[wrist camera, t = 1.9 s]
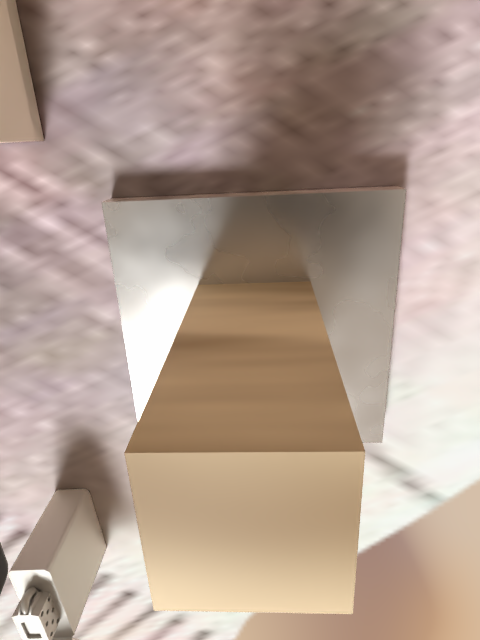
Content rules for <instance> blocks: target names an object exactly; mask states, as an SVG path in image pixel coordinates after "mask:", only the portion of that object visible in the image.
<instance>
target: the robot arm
mask: <svg viewBox="0 0 480 640" xmlns="http://www.w3.org/2000/svg"><path fill="white" fill-rule="evenodd" d="M7 574H8V563H7V560H6V557H5V554H4V552H3V549H2V546H1V543H0V594H1V591H2V589H3V586H4V583H5V581H6V578H7Z"/></svg>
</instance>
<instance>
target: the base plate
mask: <svg viewBox="0 0 480 640" xmlns="http://www.w3.org/2000/svg"><path fill="white" fill-rule="evenodd" d="M405 196H406V189H404V188H402V187H399V186H382V187H359V188H337V189H314V190H291V191H268V192H246V193H223V194H200V195H177V196H155V197H132V198H111V199H108V200H106V201H104V202H102V208H103V214H104V220H105V226H106V232H107V238H108V244H109V250H110V256H111V262H112V268H113V274H114V280H115V287H116V293H117V299H118V305H119V311H120V317H121V323H122V329H123V335H124V341H125V347H126V353H127V359H128V365H129V371H130V377H131V383H132V389H133V395H134V401H135V407H136V413H137V419H138V421H139V418H140V416H141V414H142V412H143V409H144V407H145V405H146V402H147V400H148V398H149V396H150V393H151V391H152V389H153V386H154V384H155V382H156V380H157V377H158V375H159V373H160V370H161V368H162V366H163V363H164V361H165V359H166V357H167V354H168V352H169V350H170V347H171V345H172V343H173V341H174V338H175V336H176V334H177V331H178V329H179V327H180V325H181V322H182V320H183V318H184V315H185V313H186V311H187V309H188V306H189V304H190V302H191V299H192V297H193V295H194V292H195V290H196V288H197V286H198V285H209V284H241V283H274V282H307V281H311V284H312V287H313V290H314V294H315V297H316V300H317V303H318V306H319V309H320V312H321V315H322V319H323V322H324V325H325V328H326V331H327V334H328V337H329V340H330V344H331V347H332V350H333V353H334V356H335V359H336V362H337V365H338V368H339V372H340V375H341V378H342V381H343V384H344V387H345V390H346V393H347V397H348V400H349V403H350V406H351V409H352V412H353V415H354V418H355V422H356V425H357V428H358V431H359V434H360V437H361V440H362V443H382V439H383V428H384V418H385V407H386V396H387V386H388V375H389V365H390V354H391V344H392V333H393V323H394V312H395V302H396V291H397V281H398V270H399V260H400V249H401V239H402V228H403V217H404V207H405Z"/></svg>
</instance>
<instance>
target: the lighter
mask: <svg viewBox="0 0 480 640" xmlns="http://www.w3.org/2000/svg"><path fill="white" fill-rule="evenodd" d="M106 548H107V547H106V543H105V540H104V537H103V534H102V531H101V527H100V524H99V521H98V518H97V514H96V511H95V508H94V505H93V502H92V498H91V495H90V492H89V491H88V490H87V489H85V488H83V489H64V490H57V491H56V492H55V493H54V495H53V497H52V498H51V500H50V502H49V504H48V505H47V507H46V509H45V511H44V512H43V514H42V516H41V517H40V519H39V521H38V523H37V524H36V526H35V528H34V530H33V531H32V533H31V535H30V537H29V538H28V540H27V542H26V544H25V545H24V547H23V549H22V550H21V552H20V554H19V556H18V557H17V559H16V561H15V563H14V564H13V566H12V568H11V570H10V571H9V573H8V575H9V578H10V580H11V582H12V584H13V587H14V589H15V591H16V593H17V596H18V598H19V600H20V602H19V604H18V606H17V608H16V610H15V612H14V614H13V616H12V619H13V621H14V623H15V625H16V627H17V629H18V632H19V634H20V636H21V638H22V640H79V639H76V638H72V636H73V635H74V634H75V631H76V628H77V626H78V623H79V620H80V618H81V615H82V612H83V610H84V607H85V604H86V602H87V599H88V596H89V594H90V591H91V588H92V586H93V583H94V580H95V578H96V575H97V572H98V570H99V567H100V564H101V562H102V559H103V556H104V554H105V551H106Z"/></svg>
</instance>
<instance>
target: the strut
mask: <svg viewBox="0 0 480 640" xmlns="http://www.w3.org/2000/svg"><path fill="white" fill-rule="evenodd" d="M124 454H125V459H126V464H127V470H128V475H129V480H130V486H131V491H132V496H133V502H134V507H135V512H136V518H137V523H138V528H139V534H140V539H141V544H142V550H143V555H144V561H145V566H146V571H147V577H148V582H149V587H150V593H151V598H152V603H153V609H154V611H211V612H269V613H270V612H271V613H327V614H328V613H329V614H352V613H353V602H354V588H355V576H356V562H357V550H358V537H359V524H360V511H361V498H362V486H363V473H364V460H365V450H364V447H363V443H362V440H361V437H360V434H359V431H358V428H357V425H356V422H355V418H354V415H353V412H352V409H351V406H350V403H349V400H348V397H347V393H346V390H345V387H344V384H343V381H342V378H341V375H340V372H339V368H338V365H337V362H336V359H335V356H334V353H333V350H332V347H331V344H330V340H329V337H328V334H327V331H326V328H325V325H324V322H323V319H322V315H321V312H320V309H319V306H318V303H317V300H316V297H315V294H314V290H313V287H312V284H311V281H307V282H274V283H241V284H209V285H198V286H197V288H196V290H195V292H194V295H193V297H192V299H191V302H190V304H189V306H188V309H187V311H186V313H185V315H184V318H183V320H182V322H181V325H180V327H179V329H178V331H177V334H176V336H175V338H174V341H173V343H172V345H171V347H170V350H169V352H168V354H167V357H166V359H165V361H164V363H163V366H162V368H161V370H160V373H159V375H158V377H157V380H156V382H155V384H154V386H153V389H152V391H151V393H150V396H149V398H148V400H147V402H146V405H145V407H144V409H143V412H142V414H141V416H140V418H139V421H138V423H137V425H136V428H135V430H134V432H133V435H132V437H131V439H130V441H129V444H128V446H127V448H126V451H125V453H124Z"/></svg>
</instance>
